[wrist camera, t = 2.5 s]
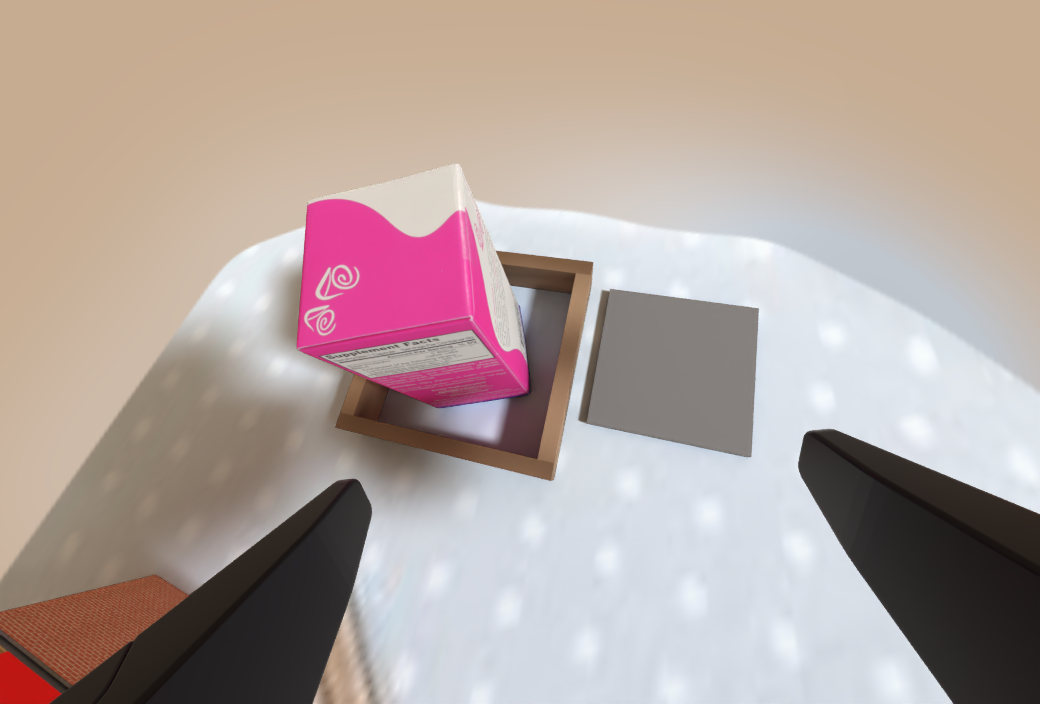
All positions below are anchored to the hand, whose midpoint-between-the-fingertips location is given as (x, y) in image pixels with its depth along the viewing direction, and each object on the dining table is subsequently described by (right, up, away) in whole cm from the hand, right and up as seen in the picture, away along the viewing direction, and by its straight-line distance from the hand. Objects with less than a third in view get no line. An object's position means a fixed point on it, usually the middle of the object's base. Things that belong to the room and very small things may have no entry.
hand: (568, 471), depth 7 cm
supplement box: (-3, +2, +15) cm, 15 cm away
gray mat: (+7, +2, +13) cm, 15 cm away
